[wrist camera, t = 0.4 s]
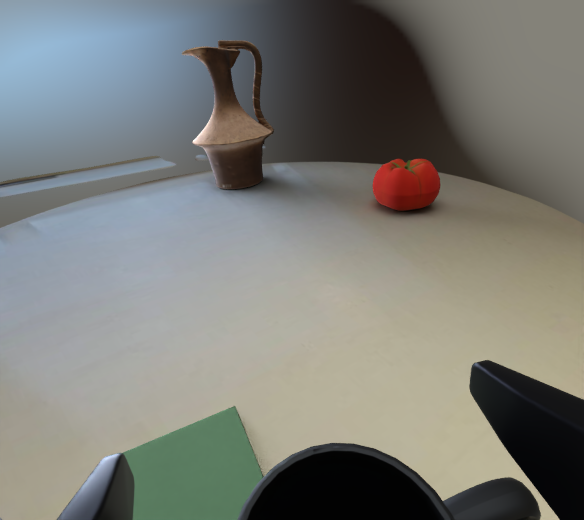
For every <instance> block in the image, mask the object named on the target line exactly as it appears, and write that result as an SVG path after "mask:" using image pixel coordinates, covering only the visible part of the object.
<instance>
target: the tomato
mask: <svg viewBox="0 0 584 520" xmlns="http://www.w3.org/2000/svg"><path fill="white" fill-rule="evenodd" d="M439 189H440V178H439V175H438V173H437V171H436V169H435V168H434V166H433V165H432V164H431V163H430V162H429V161H427V160H425V159H415V160H413V161H411V160H409V161H408V162H407V163H405V162H404V161H402V160H401V159H397V160H393V161H391V162H390V163H387V164H385V165H382V166H381V168H380V169H379V170H378V171H377V172H376V175H375V177H374V180H373V193H374V195H375V197H376V199H377V201H378V202H379V203H380V204H382V205H384V206H387V207H389V208H391V209H394V210H399V211H405V210H411V209H419V208H423V207H425V206H428V205H429V204H431V203H432V202H433V201H434V200H435V198H436V197H437V195H438V193H439Z"/></svg>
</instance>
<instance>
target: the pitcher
mask: <svg viewBox="0 0 584 520" xmlns="http://www.w3.org/2000/svg"><path fill="white" fill-rule="evenodd" d="M238 49H246V50H248V51H250V52H251V53H252V55H253V57H254V60H255V76H254V84H253V106H254V110H255V115H256V117H257V118H258V120H259V122H257V121H255V120H254V119H253V118H251V117H250V116H249V115H248V114H247V113H246V112H245V111H244V110H243V109H242V107H241V106H240V104H239V102H238V100H237V98H236V95H235V92H234V89H233V83H232V77H231V68H232V67H233V65H234V63H235V61H236V59H237V57H238V55H239V53H240V51H239V50H238ZM182 55H190V56H192V55H193V56H197V57H198V56H199V57H198V58H199V60H200V61H202V62H203V63H204V64H205V66H206V67H207V69H208V71H209V73H210V76H211V79H212V83H213V88H214V95H215V103H214V110H213V113H212V116H211V119H210V121H209V122H208V124H207V125H206V127H205V128H204V129H203V131H202V132H201V133H200V134H199V135H198V137H196V138H195V139H194V141H193V144H194V145H198V146H200V147H202V148H204V150H205V151H206V153H207V156H208V158H209V161H210V164H211V167H212V170H213V173H214V176H215V180H216V185H217V187H219V188H222V189H239V188H245V187H249V186H253V185H255V184H258V183H259V182H260V181H262V180H263V173H262V146H263V144H264V140H265V139H266V138H267V137H268V136H270V135H271V134H273V132H274V129H273V128H272V127H271V126H270V125H269V123H268V122H267V121H266V120H265V119H264V117H263V115H262V112H261V109H260V85H261V75H262V61H261V56H260V54H259V51H258V49H257V48H256V47H255V46H254V45H253V44H252V43H250V42H247V41H218V48H216V47H195V48H192V49H189V50H186V51H184V52H182Z"/></svg>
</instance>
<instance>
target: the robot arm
mask: <svg viewBox="0 0 584 520" xmlns="http://www.w3.org/2000/svg"><path fill="white" fill-rule="evenodd" d="M469 387H470V392H471V394H472V396H473V398H474V400H475V401H476V403H477V404H478V406H479V407H480V409H481V411H482V412H483V414H484V415H485V417H486V419H487V420H488V422H489V423H490V425H491V426H492V428H493V430H494V431H495V433H496V434H497V436H498V438H499V439H500V441H501V442H502V444H503V445H504V447H505V448H506V449H507V451H508V452H509V454H510V455H511V456H512V458H513V459H514V460H515V462H516V463H517V464H518V465H519V467H520V468H521V469H522V471H523V472H524V473H525V475H526V476H527V477H528V478H529V480H530V481H531V482H532V484H533V485H534V486H535V488H536V489H537V490H538V492H539V493H540V494H541V495H542V497H543V498H544V499H545V501H546V502H547V503H548V505H549V506H550V507H551V508H552V510H553V511H554V512H555V514H556V515H557V516H558V518H559V519H560V520H584V400H583V399H581V398H578V397H576V396H573V395H571V394H569V393H566V392H564V391H561V390H559V389H557V388H554V387H552V386H549V385H547V384H545V383H542V382H540V381H537V380H535V379H533V378H530V377H528V376H525V375H523V374H521V373H518V372H516V371H514V370H511V369H509V368H506V367H504V366H502V365H499V364H497V363H494V362H492V361H489V360H485V361H481V362H477V363H474V364H473V365H472V368H471V377H470V385H469ZM134 489H135V482H134V476H133V474H132V471H131V469H130V466H129V464H128V462H127V459H126V457H125V455H124V454H123V453H118V454H114V455H110V456H106V457H104V458H103V459H102V460H101V461H100V463H99V464H98V465H97V467H96V468H95V469H94V471H93V472H92V473H91V475H90V476H89V477H88V479H87V480H86V481H85V483H84V484H83V485H82V487H81V488H80V489H79V491H78V492H77V493H76V495H75V496H74V497H73V498H72V500H71V501H70V502H69V504H68V505H67V506H66V508H65V509H64V510H63V512H62V513H61V514H60V516H59V517H58V518H57V520H133V507H134Z"/></svg>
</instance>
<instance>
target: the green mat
mask: <svg viewBox="0 0 584 520" xmlns="http://www.w3.org/2000/svg"><path fill="white" fill-rule="evenodd" d="M123 454H124V455H125V457H126V459H127V462H128V464H129V466H130V469H131V471H132V474H133V476H134V482H135V489H134V507H133V520H237V519H238V517H239V514H240V512H241V510H242V507H243V505H244V503H245V502H246V500H247V499H248V497H249V496H250V494H251V493H252V491H253V489H254V488H255V486H256V485H257V484H258V482H259V481H260V480H261V479H262V478H263V475H262V472H261V470H260V467H259V465H258V462H257V460H256V457H255V455H254V452H253V450H252V447H251V445H250V442H249V440H248V438H247V435H246V433H245V430H244V428H243V425H242V423H241V420H240V418H239V415H238V413H237V410H236V408H235V406H234V407H231V408H229V409H226V410H224V411H222V412H219V413H217V414H214V415H212V416H210V417H207V418H205V419H203V420H200V421H198V422H195V423H193V424H191V425H188V426H186V427H183V428H181V429H179V430H176V431H174V432H171V433H169V434H167V435H164V436H162V437H160V438H157V439H155V440H152V441H150V442H148V443H145V444H143V445H140V446H138V447H136V448H133V449H131V450H128V451H126V452H124V453H123Z"/></svg>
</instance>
